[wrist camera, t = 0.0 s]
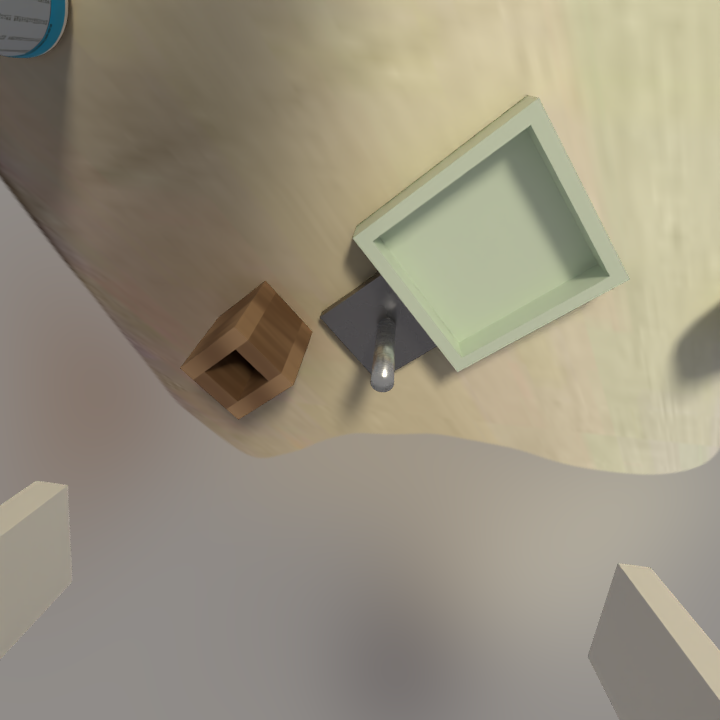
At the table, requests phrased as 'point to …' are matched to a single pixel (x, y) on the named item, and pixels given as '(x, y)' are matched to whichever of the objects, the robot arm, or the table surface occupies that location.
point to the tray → (493, 239)
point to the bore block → (250, 352)
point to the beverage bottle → (31, 26)
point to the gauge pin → (378, 330)
